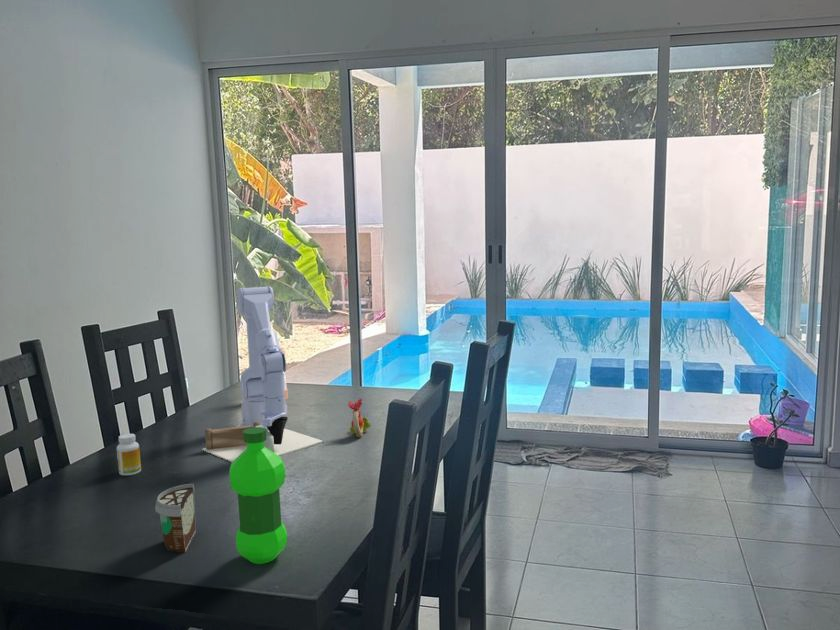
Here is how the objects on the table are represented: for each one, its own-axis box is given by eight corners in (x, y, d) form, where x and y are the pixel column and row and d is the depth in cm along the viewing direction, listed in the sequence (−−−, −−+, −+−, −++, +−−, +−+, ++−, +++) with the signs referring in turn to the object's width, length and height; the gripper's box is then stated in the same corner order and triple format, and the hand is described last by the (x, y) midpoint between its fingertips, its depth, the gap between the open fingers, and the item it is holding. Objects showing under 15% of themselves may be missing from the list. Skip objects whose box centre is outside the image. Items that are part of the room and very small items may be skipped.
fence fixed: (206, 447, 203) (204, 427, 203) (261, 441, 207) (260, 421, 207) (206, 450, 202) (204, 429, 201) (262, 443, 206) (260, 423, 205)
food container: (167, 530, 152) (163, 484, 150) (197, 528, 152) (194, 482, 151) (150, 558, 140) (146, 508, 138) (183, 555, 140) (179, 506, 139)
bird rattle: (370, 444, 210) (371, 423, 218) (368, 414, 204) (368, 394, 212) (349, 445, 210) (350, 424, 218) (345, 415, 204) (347, 395, 212)
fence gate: (262, 442, 205) (261, 425, 205) (275, 455, 194) (274, 437, 193) (256, 443, 205) (255, 426, 204) (268, 456, 193) (267, 438, 192)
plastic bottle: (224, 566, 136) (214, 436, 132) (256, 541, 145) (247, 420, 142) (270, 574, 132) (261, 441, 128) (299, 548, 142) (292, 424, 138)
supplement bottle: (146, 470, 188) (142, 433, 187) (129, 477, 184) (126, 440, 182) (130, 467, 191) (127, 431, 189) (114, 474, 186) (110, 437, 184)
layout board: (202, 450, 203) (202, 448, 203) (280, 428, 221) (280, 426, 221) (243, 467, 188) (243, 465, 188) (323, 442, 206) (323, 440, 206)
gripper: (268, 389, 206) (271, 435, 208) (250, 403, 192) (254, 452, 194) (293, 389, 205) (295, 435, 207) (276, 403, 191) (279, 452, 193)
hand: (277, 444), depth 200 cm, fingers closed
